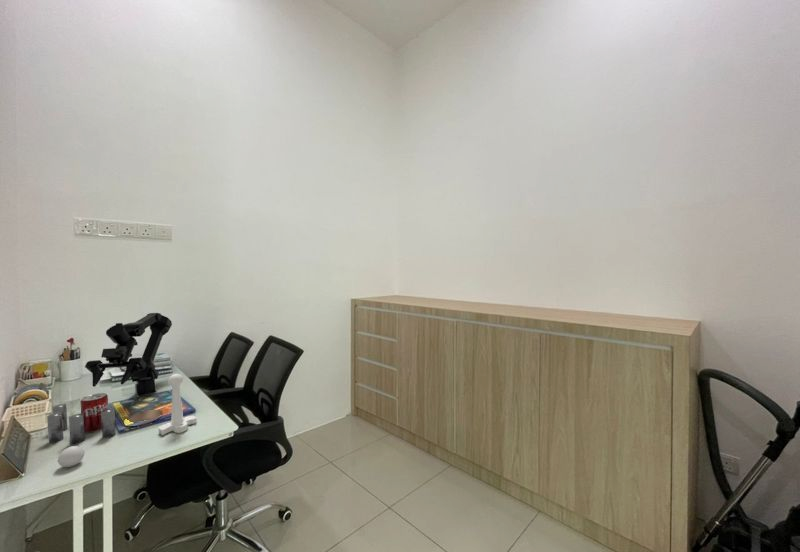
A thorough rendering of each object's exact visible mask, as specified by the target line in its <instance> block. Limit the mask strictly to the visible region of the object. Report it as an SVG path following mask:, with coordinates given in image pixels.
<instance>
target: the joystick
mask: <svg viewBox="0 0 800 552" xmlns="http://www.w3.org/2000/svg"><path fill="white" fill-rule="evenodd" d="M183 381H184V378H183V375H181V374H180V373H173V374H172V375H170V376H169V377H168V381H167V384H168V385H169V386H171V415H170V416H171V420H170V422H167V423H164V424H162V425H160V426H158V435H161V436H164V435H166V434H168V433H170V432H174V433H176V434H182V433H184V432H186V431H187V430H188V429H189V427H188V426H189V425H193V424H197V423H198V422H197V417H196V416H195V415H188V416H185V417H184V413H183V402H182V396H181V395H182V394H181V384H182V383H183Z"/></svg>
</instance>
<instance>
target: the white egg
mask: <svg viewBox="0 0 800 552" xmlns="http://www.w3.org/2000/svg"><path fill="white" fill-rule="evenodd" d="M84 456H85V449H84V448H83V446H82V447H81V446H78V445H72V446H69V447H67V448H65V449H64V450H62V452H60V453H59V455H58V457H57V456H56V457H55V459H57V462H58V464H59V466H61V467H63V468H72V467H75V466H76V465H77V464H79V463H80V462H81V461H83V459H84ZM51 459H53V458H51Z"/></svg>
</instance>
